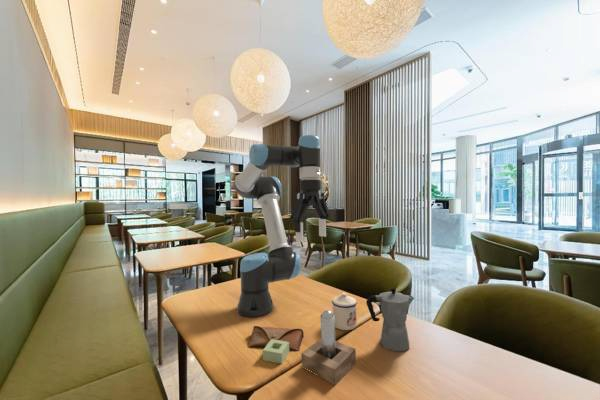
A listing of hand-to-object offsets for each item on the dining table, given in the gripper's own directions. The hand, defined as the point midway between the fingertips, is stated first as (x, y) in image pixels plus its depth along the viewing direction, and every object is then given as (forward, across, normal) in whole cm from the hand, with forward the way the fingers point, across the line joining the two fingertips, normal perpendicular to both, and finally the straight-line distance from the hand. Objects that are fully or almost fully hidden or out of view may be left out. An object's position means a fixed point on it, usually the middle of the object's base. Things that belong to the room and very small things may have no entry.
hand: (311, 238), depth 91 cm
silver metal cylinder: (+33, -13, -15) cm, 38 cm away
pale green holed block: (+33, -19, 0) cm, 38 cm away
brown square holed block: (+33, -13, -15) cm, 38 cm away
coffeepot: (+33, +8, -25) cm, 42 cm away
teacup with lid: (+33, +11, -7) cm, 35 cm away
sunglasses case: (+33, -14, +5) cm, 37 cm away
